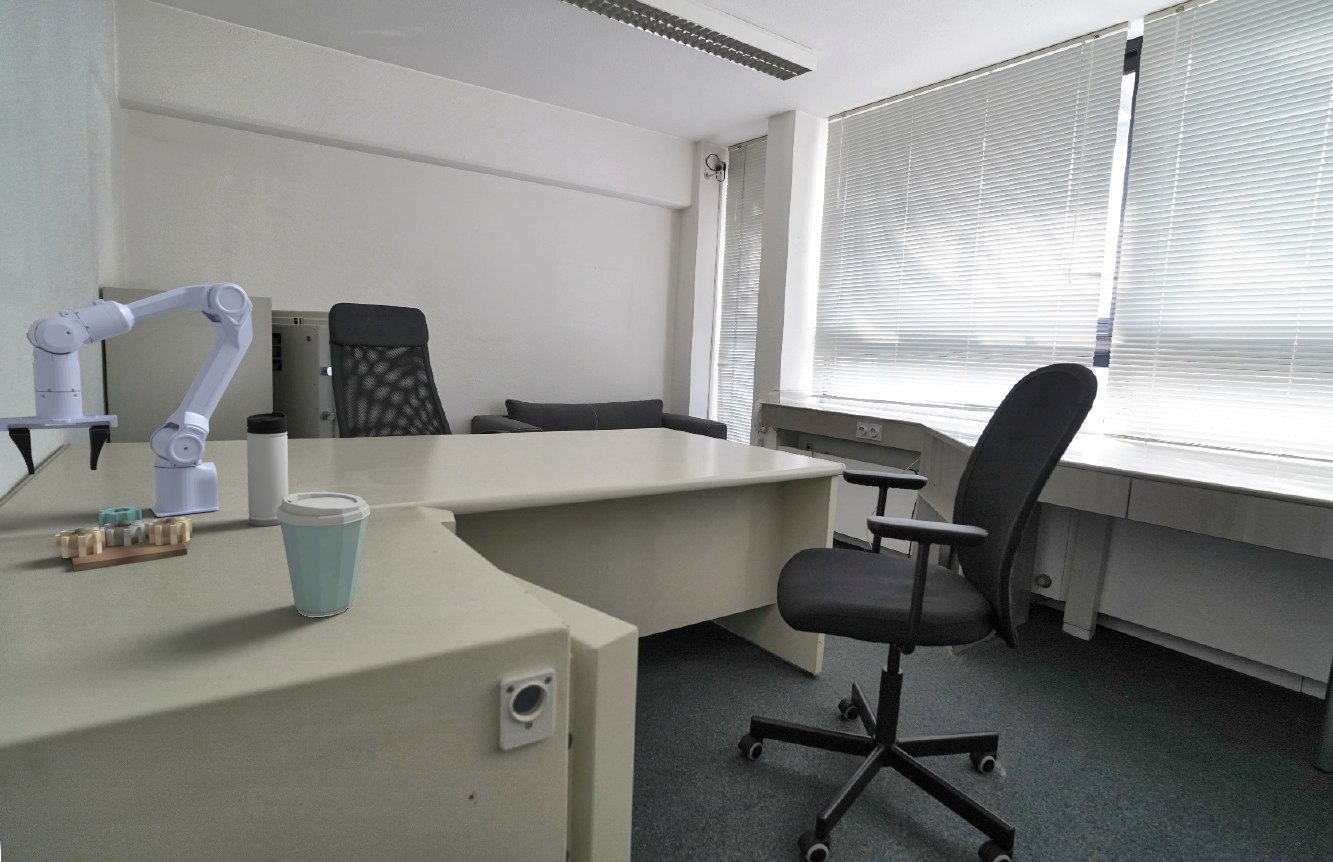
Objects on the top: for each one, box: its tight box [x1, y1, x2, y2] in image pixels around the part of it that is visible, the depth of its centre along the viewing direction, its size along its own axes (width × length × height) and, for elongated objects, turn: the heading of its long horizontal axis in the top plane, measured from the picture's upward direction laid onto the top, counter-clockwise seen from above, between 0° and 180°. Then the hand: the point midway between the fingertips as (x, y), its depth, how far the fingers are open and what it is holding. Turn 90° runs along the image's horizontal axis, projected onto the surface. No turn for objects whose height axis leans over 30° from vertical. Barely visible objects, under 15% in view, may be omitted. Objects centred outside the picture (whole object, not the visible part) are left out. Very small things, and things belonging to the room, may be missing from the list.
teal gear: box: [98, 505, 143, 529], centre depth 108 cm, size 5×5×4 cm
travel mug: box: [246, 411, 289, 527], centre depth 120 cm, size 6×7×20 cm
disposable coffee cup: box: [276, 491, 371, 617], centre depth 85 cm, size 11×11×15 cm
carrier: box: [54, 509, 193, 572], centre depth 104 cm, size 16×18×4 cm
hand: (63, 471), depth 111 cm, fingers open, 7 cm apart
